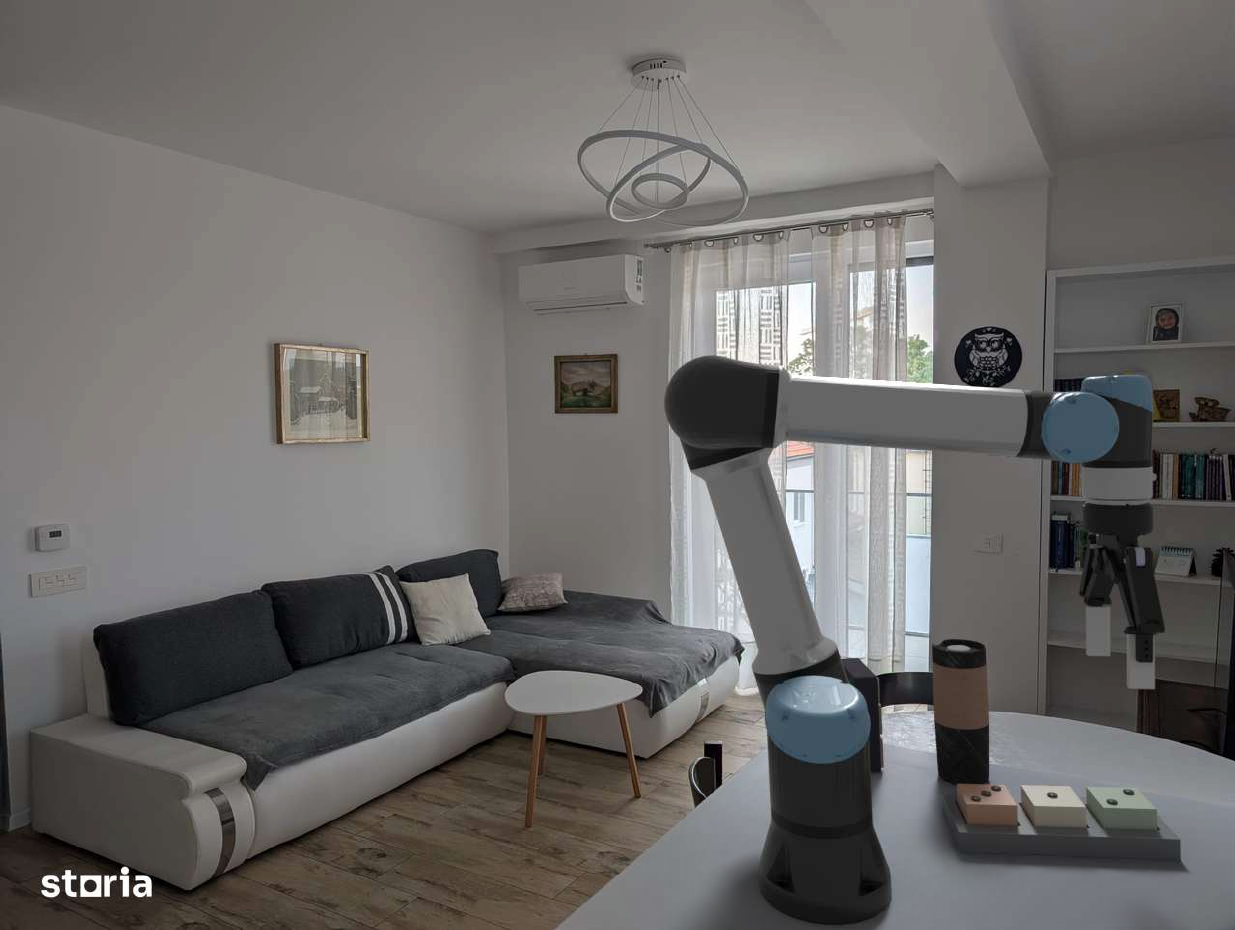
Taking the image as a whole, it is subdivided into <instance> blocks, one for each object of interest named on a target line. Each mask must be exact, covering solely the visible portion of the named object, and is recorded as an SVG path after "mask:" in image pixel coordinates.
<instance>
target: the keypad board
mask: <svg viewBox="0 0 1235 930" xmlns="http://www.w3.org/2000/svg"><path fill="white" fill-rule="evenodd" d="M1011 796H1012V798H1013V799H1014V801H1015V803H1016V804H1017V815H1018V826H1007V825H975V824H966V822H965V820H964V818H963V816H962V814H961V812H960V809H959V807H958V799H957V793H942V795H941V797H942V812H943V815H944V817H945V820H946V822H947V824H948V826H949V829H950V832H951V835H952V837H953V838H954V842H955V844H956V847H957V848H958V851H959V852H960V853H962V852H963V853H982V854H983V853H987V854H1009V855H1010V854H1011V855H1034V854H1039V855H1038V856H1065V857H1066V856H1067V857H1069V856H1070V857H1089V858H1090V857H1091V858H1092V857H1095V858H1117V859H1120V858H1121V859H1122V858H1123V859H1142V860H1143V859H1144V860H1145V859H1150V860H1171V861H1173V860H1174V861H1175V860H1176V861H1181V860H1182V852H1181V846H1182V844H1181V839H1180V837H1178V836H1177V835H1176V833H1175V832H1174V830H1172V829H1171V828H1170V827H1169V825H1167V824H1166V823H1165V822H1164V821H1163V819H1162V818H1161V817H1160V816H1159V815H1158V814H1157V830H1134V829H1103V828H1102V827H1101V826H1100V825H1099V824H1098V822H1097V821H1096V820H1095V818H1094V817H1093V816H1092V815H1091V813H1090V812H1089V811H1088V809H1087V796H1078V798H1079V799H1080V800H1081V801H1082V803H1083V804H1084V805H1085V807H1086V822H1087V828H1071V827H1039V826H1033V825H1032V824H1031V822H1030V820H1029V819H1028V817H1027V816H1026V814H1025V812H1024V811H1023V809H1022V807H1021V794H1020V795H1016V794H1014V795H1013V794H1011ZM1178 859H1179V860H1178Z"/></svg>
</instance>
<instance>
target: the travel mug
mask: <svg viewBox="0 0 1235 930" xmlns="http://www.w3.org/2000/svg"><path fill="white" fill-rule="evenodd" d="M931 656H932V694H933V697H932V698H933V719H934V720H933V722H934V723H933V724H934V736H935V737H934V738H935V739H934V740H935V753H936V764H937V765H936V767H937V775H938V777H939V779H940V780H942V781H943V782H944V783H947V784H949V785H953V786H956V787H957V784H988V782H989V780H990V712H989V692H988V691H989V690H988V688H989V687H988V669H987V665H988V664H987V648H986V645H985V644H983V643H982V642H979V641H977V640H970V639H963V638H962V639H959V638H951V639H950V638H948V639H943V640H942V641H941V642H940V643H939V644H934V643H931Z"/></svg>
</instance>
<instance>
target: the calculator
mask: <svg viewBox="0 0 1235 930" xmlns="http://www.w3.org/2000/svg"><path fill="white" fill-rule="evenodd" d="M841 660H842V663H843V666H844V669H845V672H846V676H847V679H848V681H849V683H850V684H851V685H852V686H854V687H855V688H856V689H858V690H859V691H860V692H861V694H862V695H863V696H864V698H865V700H866V703H867V709H868V713H869V716H870V723H871V729H870V735H869V744H870V767H871V772H873V773H881V772H882V768H884V767H885V765H884V764H885V763H884V740H883V737H882V736H881V735H883V714H882V713H883V712H882V705H881V703H880V702H881V701H880V700H881V698H880V697H881V695H880V693H881V692H880V679H879V678H878V677H877V675H876V674H875V673H874V672H873V671H872V670H871V669H870V668H869V667H868V666H867V665H866V664H865V663H864V662H863V661H862V660H861V659H860V658H859V657H848V658H841Z"/></svg>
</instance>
